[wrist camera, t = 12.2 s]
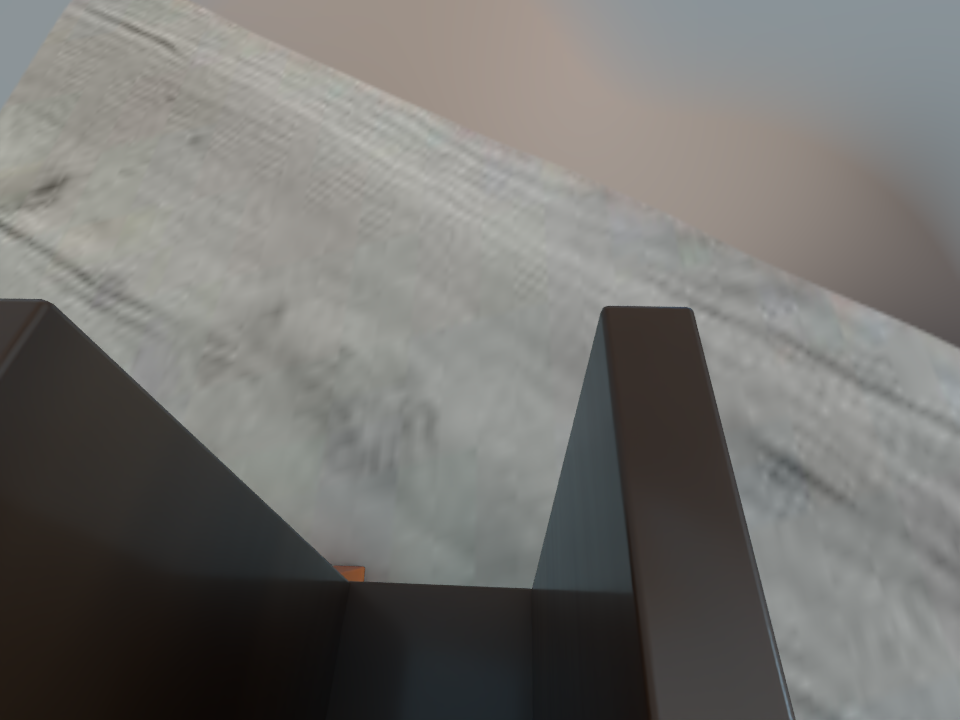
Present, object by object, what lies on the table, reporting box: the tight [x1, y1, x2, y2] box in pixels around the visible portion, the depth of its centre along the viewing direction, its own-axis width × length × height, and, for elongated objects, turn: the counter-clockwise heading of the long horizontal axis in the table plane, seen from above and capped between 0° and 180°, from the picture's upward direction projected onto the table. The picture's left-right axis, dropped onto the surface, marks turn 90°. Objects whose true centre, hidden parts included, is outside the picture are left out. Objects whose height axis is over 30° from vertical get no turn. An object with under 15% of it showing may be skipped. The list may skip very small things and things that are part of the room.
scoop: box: [0, 299, 795, 720], centre depth 8 cm, size 6×7×12 cm
